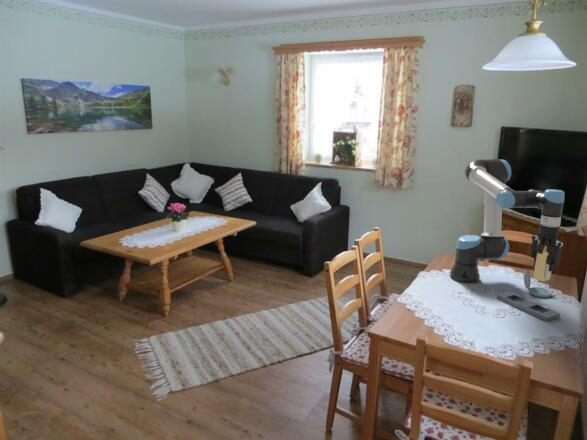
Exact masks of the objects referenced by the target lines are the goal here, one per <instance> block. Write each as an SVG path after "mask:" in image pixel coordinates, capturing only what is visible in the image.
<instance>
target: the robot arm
mask: <svg viewBox="0 0 587 440" xmlns="http://www.w3.org/2000/svg"><path fill="white" fill-rule="evenodd" d="M464 176H465V177H466V179H467V181H469V182H470V183H471V184H474V185H477V186H478V187H480V188H481V189H483V190H484V208H483V209H484V211H483V212H484V214H483V216H484V217H483V232H482V233H481V234H480V236H479V235H475V234H474V235H472V234H465V235H461V236H460V237H458V239H457V242H456V246H455V247H456V249H455V259H454V263H453V266H452V268H451V270H450V272H449V277H450V278H451V279H452V280H454V281H456V282H459V283H465V284H474V283H475V284H476V283H478V282H479V281H480V277H481V276H480V273H479V267H478V265H479V261H491V260H494V261H498V260H503V259H505V258H506V257H507V255H508V253H509V251H510V245H509V241H508V240H507V238H505V235H504V233H502V226H503V225H502V220H503V219H502V218H503V217H502V216H503V209H515V208H516V209H518V208H523V209H527V208H528V209H529V208H531V209H532V208H535V209H539V210H541V214H540V222H539V223H540V224H539V228H538V235H532V236H531V240H532V241H531V242H532V243H531V251H530V258H532V259H534V260H533V267H535V265H536V258H537V253H539V252H544V250H545V247H546V249H547V253H548V257H549V263H548V264H547V267H546V274H545V278H550V279H551V276H552V272H554V270H555V265H558V264H560V262H561V256H562V249H563V247H564V245H565V242H563V241H562V242H561V241H560V240H559V238H558V236H559V235H560V233H559V232H560V226H561V222H562V215H563V209H564V203H565V191H563V190H561V189H549V188H547V189H546V190H544V191H541V190H538V189H529V190H514V189H512V188H511V187H509V186H508V185H507V181H508V182H509V180H510V179H511V177H512V168H511V164H510V163H509V162H508V161H507V160H505V159H499V158H494V159H492V158H491V159H490V158H489V159H487V158H485V159H484V158H483V159H478V158H477V159H475V160H472V161H470V162H469V163H468V164H467V165H466V167H465V170H464ZM534 272H535V269H534V271H533V273H534Z"/></svg>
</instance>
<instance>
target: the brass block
mask: <svg viewBox="0 0 587 440" xmlns="http://www.w3.org/2000/svg"><path fill="white" fill-rule="evenodd" d="M548 263H549V257H548V251H543V252H539V253H537V258H536V265H535V266H534V270H535V272H534V271H533V279H534V280H537V281H541V282H547V281H550V279H551V277H550V278H545V274H546V267H547V264H548Z"/></svg>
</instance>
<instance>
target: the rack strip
mask: <svg viewBox="0 0 587 440" xmlns="http://www.w3.org/2000/svg"><path fill="white" fill-rule="evenodd" d="M495 299H496V300H499V301H501V302H503V303H506V304H508V305H509V306H512V307H514V308H517V309H519V310H521V311H522V312H525V313H526V314H529V315H532V316H533V317H536V318H538V319H540V320H542V321H544V322H550V321H553V320H556V319H560V318H561V313H560V312H557V311H555V310H553V309H551V308H549V307H547V306H544V305H542V304H539V303H537V302H534V301H532V300H530V299H528V298H525V297H523V296H521V295H518V294H516V293H513V292H512V291H506V292H502V293H498V294H496V297H495ZM513 299H514V300H516V301H514V300H513ZM517 301H518V302H517ZM539 311H541V312H539Z"/></svg>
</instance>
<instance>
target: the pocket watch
mask: <svg viewBox="0 0 587 440" xmlns="http://www.w3.org/2000/svg"><path fill="white" fill-rule="evenodd" d="M523 281H524V282H523V283H524V286H525V289H527V291H528V293H529V294H531V295H532V296H535V297H538V298H545V299H546V298H549V297H553V298H556V296H557V295H555V294H552V292H551V291H550V290H548V289H546V288H544V287H538V286H536V287H535V286H533V287H531V273H530V270H529V269H526V270H524V274H523Z"/></svg>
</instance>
